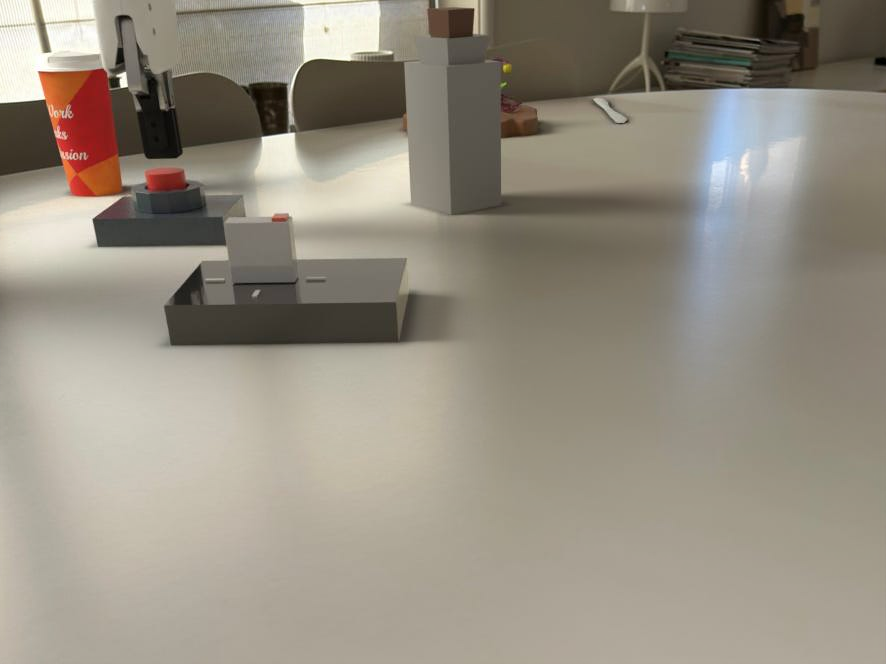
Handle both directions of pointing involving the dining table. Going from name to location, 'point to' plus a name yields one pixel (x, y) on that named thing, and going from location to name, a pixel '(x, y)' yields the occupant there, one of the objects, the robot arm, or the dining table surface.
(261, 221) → the white block red tab
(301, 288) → the dark grey base block
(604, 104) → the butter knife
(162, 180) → the power button
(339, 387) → the dining table surface
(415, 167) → the perfume bottle
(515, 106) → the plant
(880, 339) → the dining table surface
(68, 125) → the paper cup
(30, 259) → the dining table surface
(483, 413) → the dining table surface
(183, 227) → the switch block
